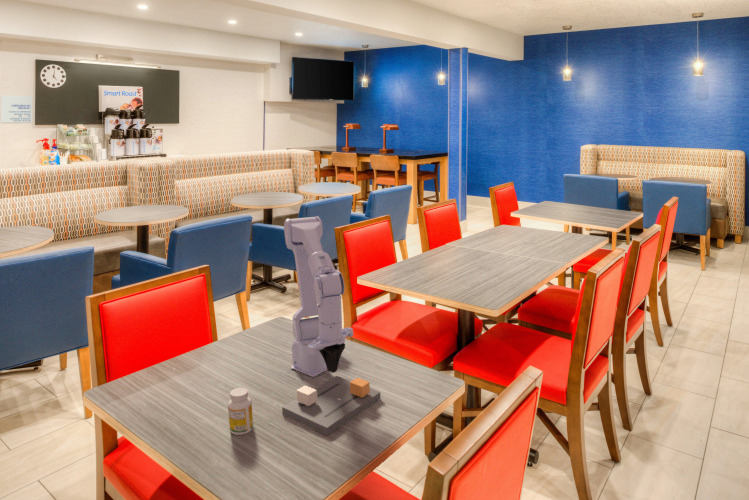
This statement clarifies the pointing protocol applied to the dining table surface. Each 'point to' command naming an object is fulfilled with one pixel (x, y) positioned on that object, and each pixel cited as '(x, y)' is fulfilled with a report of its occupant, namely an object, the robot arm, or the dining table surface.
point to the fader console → (330, 406)
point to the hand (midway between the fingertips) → (332, 370)
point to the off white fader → (306, 395)
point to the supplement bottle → (240, 412)
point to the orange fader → (359, 387)
